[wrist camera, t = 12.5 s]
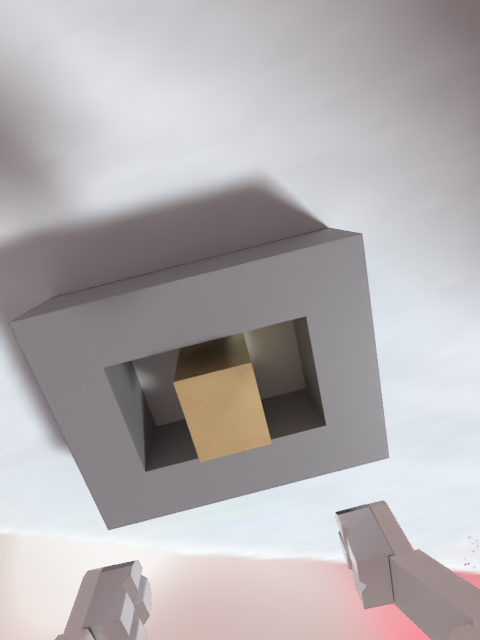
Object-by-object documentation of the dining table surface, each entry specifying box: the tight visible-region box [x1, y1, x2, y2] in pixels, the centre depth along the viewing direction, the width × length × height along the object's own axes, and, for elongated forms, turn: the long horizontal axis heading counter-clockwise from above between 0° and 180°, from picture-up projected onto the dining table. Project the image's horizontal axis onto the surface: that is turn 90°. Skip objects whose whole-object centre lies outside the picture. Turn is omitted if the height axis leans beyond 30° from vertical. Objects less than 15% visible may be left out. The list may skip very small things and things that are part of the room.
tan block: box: [173, 332, 272, 462], centre depth 21 cm, size 4×5×6 cm
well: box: [9, 228, 389, 530], centre depth 22 cm, size 18×14×5 cm
